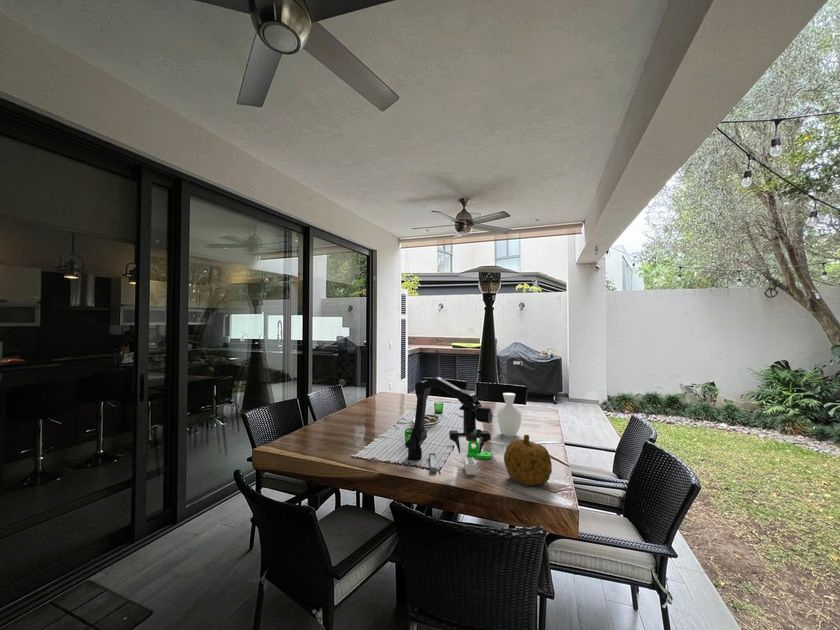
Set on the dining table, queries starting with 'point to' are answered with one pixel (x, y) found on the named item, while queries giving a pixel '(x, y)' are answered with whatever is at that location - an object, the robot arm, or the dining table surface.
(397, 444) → the dining table surface
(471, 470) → the block
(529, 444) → the decorative pumpkin
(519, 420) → the vase
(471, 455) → the mechanical part
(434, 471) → the rail
